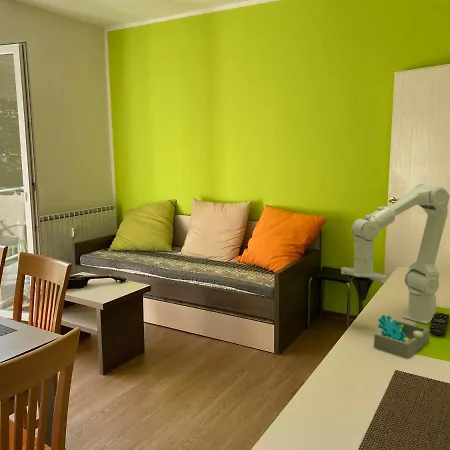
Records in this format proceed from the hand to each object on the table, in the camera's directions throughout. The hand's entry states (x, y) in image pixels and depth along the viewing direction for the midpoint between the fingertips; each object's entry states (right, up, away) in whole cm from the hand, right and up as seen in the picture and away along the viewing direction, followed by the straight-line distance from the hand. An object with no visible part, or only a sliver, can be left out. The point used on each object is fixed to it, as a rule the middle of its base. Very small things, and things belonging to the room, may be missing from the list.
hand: (362, 299), depth 142 cm
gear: (+6, -11, -9) cm, 15 cm away
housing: (+8, -11, -11) cm, 18 cm away
